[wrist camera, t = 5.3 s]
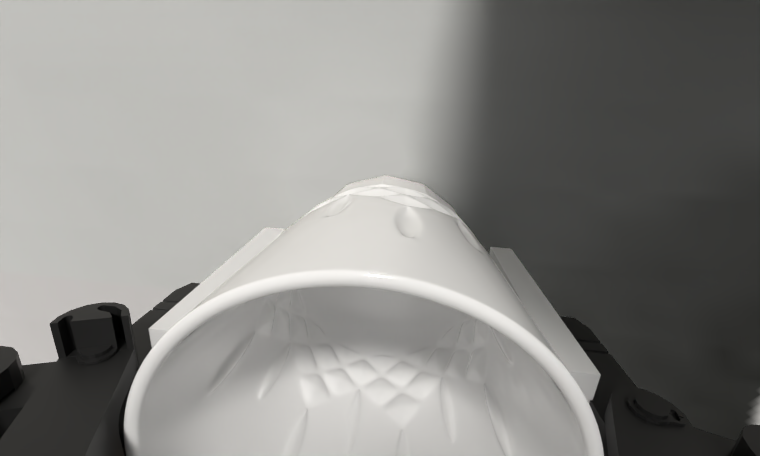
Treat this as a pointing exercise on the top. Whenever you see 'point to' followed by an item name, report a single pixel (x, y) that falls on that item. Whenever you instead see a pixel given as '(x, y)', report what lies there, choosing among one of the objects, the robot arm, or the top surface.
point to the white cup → (361, 348)
